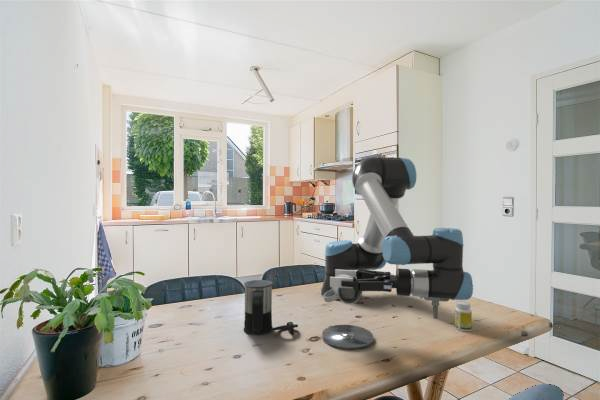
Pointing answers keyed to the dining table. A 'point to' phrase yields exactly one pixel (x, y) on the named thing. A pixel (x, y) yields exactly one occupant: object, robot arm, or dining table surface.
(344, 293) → the ceramic mug
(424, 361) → the dining table surface
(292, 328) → the milk frother
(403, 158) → the robot arm
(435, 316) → the mechanical component
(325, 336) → the plate
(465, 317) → the supplement bottle
